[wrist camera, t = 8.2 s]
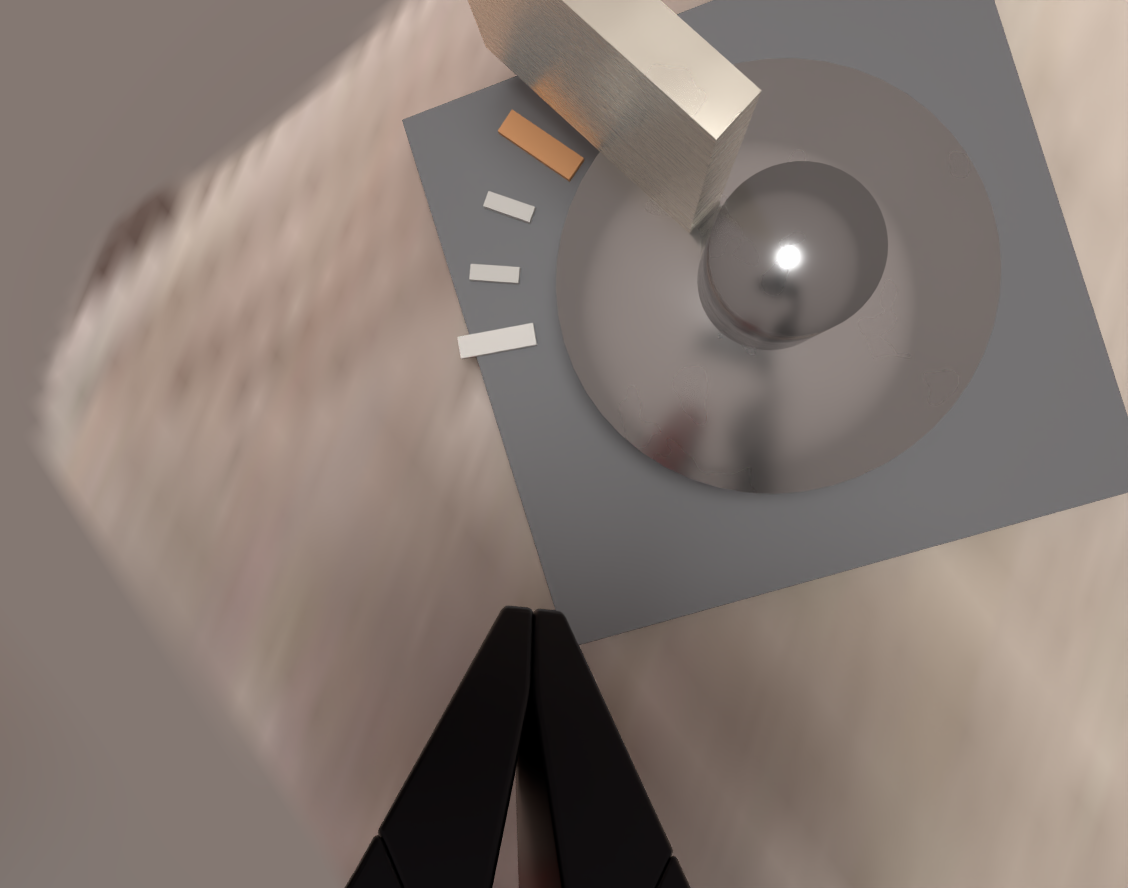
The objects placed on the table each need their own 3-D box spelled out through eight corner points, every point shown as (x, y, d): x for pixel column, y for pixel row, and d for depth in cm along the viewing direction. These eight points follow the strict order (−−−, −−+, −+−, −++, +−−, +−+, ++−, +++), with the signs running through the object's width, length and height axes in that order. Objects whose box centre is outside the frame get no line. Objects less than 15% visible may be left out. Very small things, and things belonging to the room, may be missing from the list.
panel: (1119, 482, 20) (1155, 486, 19) (558, 639, 22) (553, 653, 21) (943, -66, 20) (966, -103, 19) (402, 140, 22) (386, 121, 21)
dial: (1057, 277, 19) (1352, 173, 11) (763, 568, 20) (844, 657, 12) (645, -87, 20) (651, -417, 12) (386, 209, 21) (240, 82, 13)
